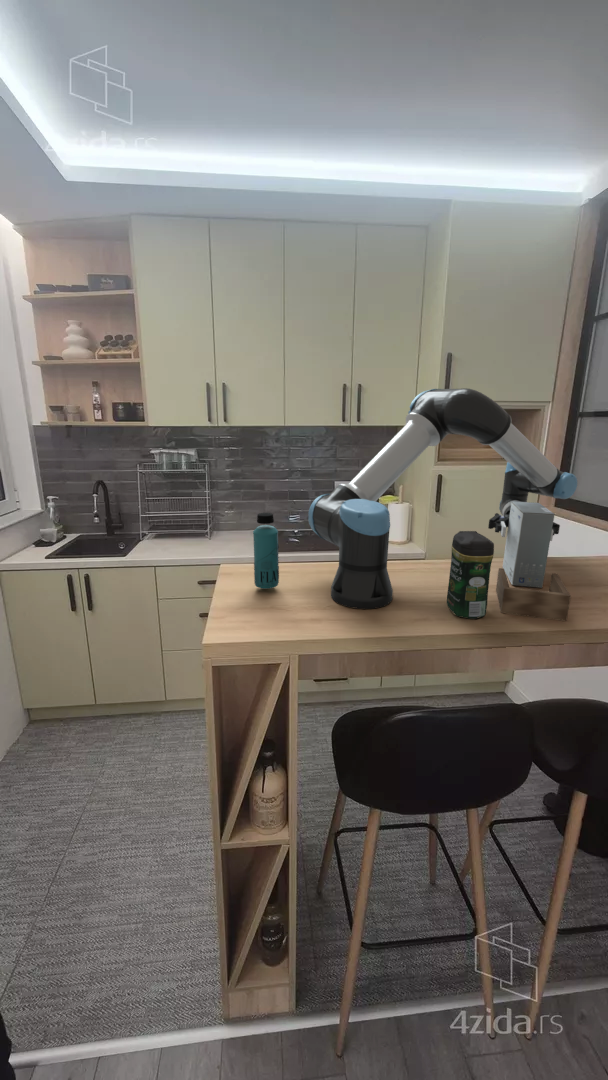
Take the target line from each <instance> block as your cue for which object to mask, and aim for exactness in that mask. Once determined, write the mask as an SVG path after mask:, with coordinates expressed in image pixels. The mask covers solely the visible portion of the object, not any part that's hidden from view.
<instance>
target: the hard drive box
mask: <svg viewBox="0 0 608 1080" xmlns="http://www.w3.org/2000/svg"><path fill="white" fill-rule="evenodd" d="M555 516H556V514H555V513H554V512H553V511H551V510H549V509H548V508H547V507H546V506H544V505H543V504H541V503H540V502H530V501H529V502H528V501H527V502H513V501H512V502H511V509H510V516H509V524H508V527H507V530H506V537H505V538H506V540H505V547H504V552H503V553H504V554H503V559H502V560H503V561H502V568H504V570H505V574H506V577H507V579H508V581H509V582H510V583H511V585H512V586H518V587H520V586H521V587H529V588H539V589H540V588H541V589H542V588H543V585H544V579H545V575H546V569H547V568H546V567H547V561H548V557H549V556H548V555H549V550H550V543H551V541H550V538H551V532H552V526H553V522H555V521H554V520H555Z"/></svg>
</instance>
